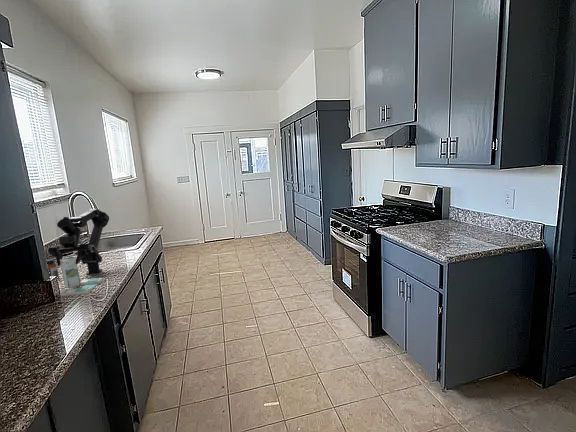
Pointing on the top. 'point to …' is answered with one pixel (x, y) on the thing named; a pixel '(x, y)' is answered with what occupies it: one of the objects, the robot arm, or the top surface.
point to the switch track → (86, 289)
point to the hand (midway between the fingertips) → (67, 264)
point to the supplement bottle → (52, 268)
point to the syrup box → (70, 272)
